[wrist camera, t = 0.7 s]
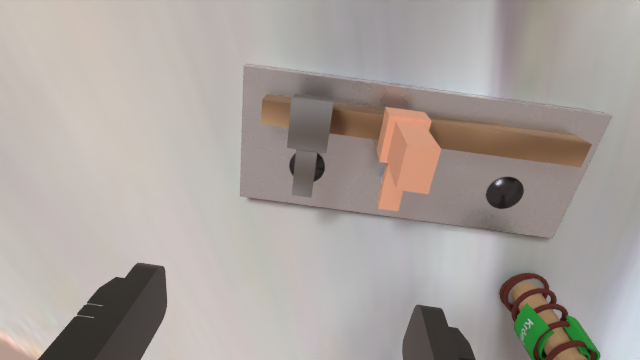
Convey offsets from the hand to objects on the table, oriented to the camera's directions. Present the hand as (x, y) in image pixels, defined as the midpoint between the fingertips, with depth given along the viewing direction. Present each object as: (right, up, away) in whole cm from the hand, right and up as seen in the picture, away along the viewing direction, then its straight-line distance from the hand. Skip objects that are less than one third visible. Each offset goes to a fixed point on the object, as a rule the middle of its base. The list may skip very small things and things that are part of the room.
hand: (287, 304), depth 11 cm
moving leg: (+7, +7, +19) cm, 22 cm away
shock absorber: (+22, -7, +27) cm, 36 cm away
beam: (+9, +7, +20) cm, 23 cm away
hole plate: (+9, +6, +21) cm, 24 cm away
